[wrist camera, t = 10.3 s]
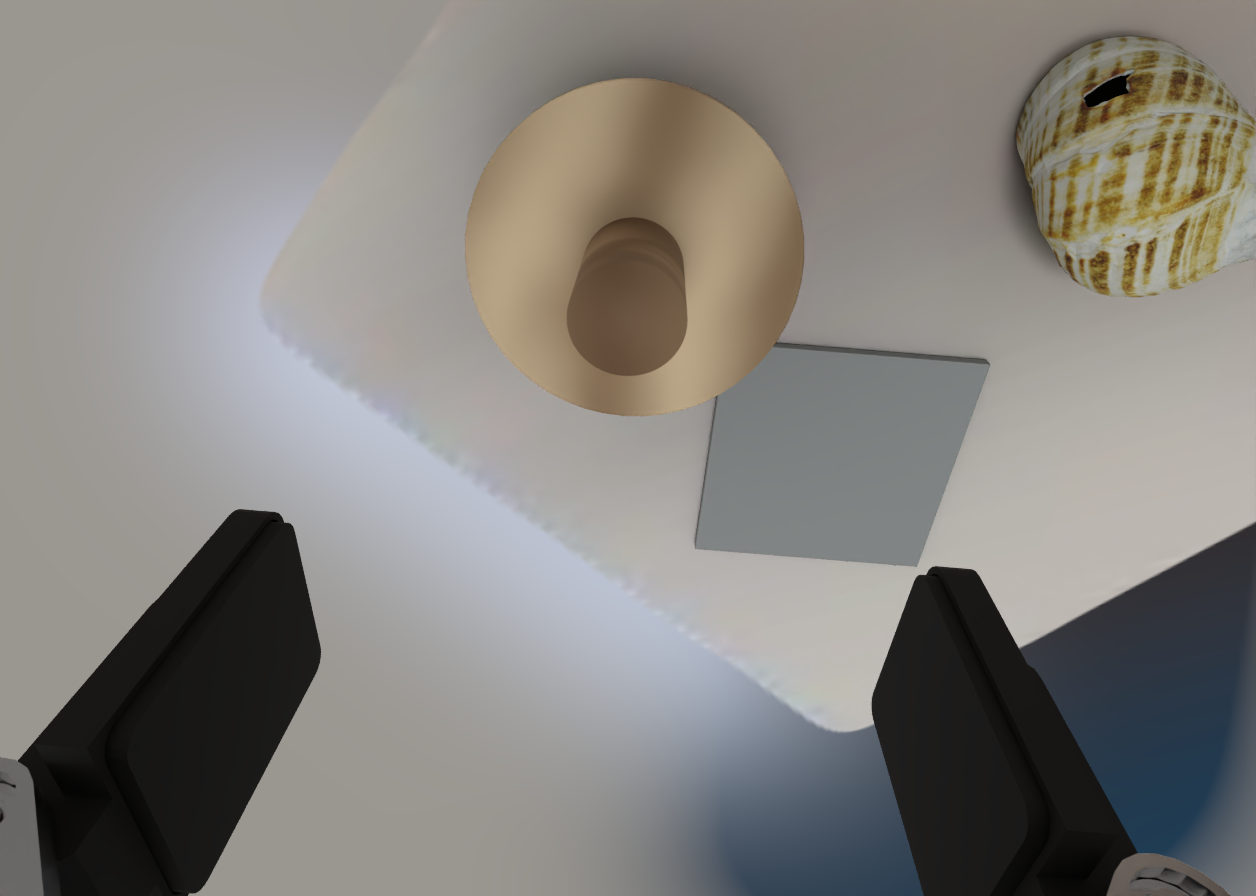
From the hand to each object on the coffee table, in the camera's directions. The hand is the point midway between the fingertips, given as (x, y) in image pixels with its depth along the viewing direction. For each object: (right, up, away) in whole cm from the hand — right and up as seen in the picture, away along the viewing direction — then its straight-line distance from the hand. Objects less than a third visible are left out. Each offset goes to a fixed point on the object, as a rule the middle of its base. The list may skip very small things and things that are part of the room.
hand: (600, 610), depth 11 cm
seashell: (+23, +16, +23) cm, 36 cm away
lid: (+1, +9, +16) cm, 18 cm away
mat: (+12, +2, +31) cm, 34 cm away
